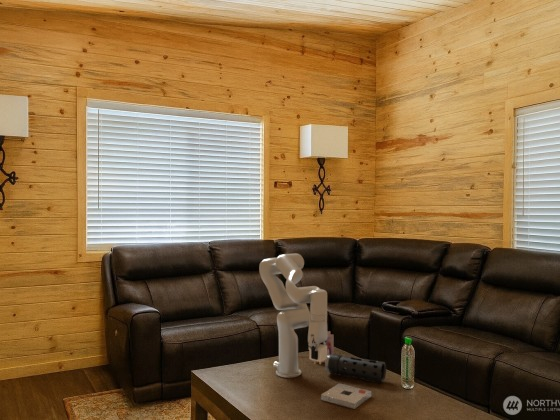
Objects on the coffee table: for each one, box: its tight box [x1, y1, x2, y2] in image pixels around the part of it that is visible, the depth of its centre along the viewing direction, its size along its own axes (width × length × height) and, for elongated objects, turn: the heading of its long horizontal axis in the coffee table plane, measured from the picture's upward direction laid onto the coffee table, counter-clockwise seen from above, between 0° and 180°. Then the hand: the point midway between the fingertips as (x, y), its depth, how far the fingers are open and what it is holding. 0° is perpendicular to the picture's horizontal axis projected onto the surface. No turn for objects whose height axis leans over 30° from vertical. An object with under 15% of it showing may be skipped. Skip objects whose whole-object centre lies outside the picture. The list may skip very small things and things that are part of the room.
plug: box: [307, 344, 327, 365], centre depth 226 cm, size 8×6×8 cm
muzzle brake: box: [324, 353, 387, 384], centre depth 241 cm, size 10×28×10 cm, turn 62°
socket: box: [320, 383, 372, 410], centre depth 217 cm, size 16×16×3 cm
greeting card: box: [311, 330, 335, 363], centre depth 267 cm, size 11×7×15 cm, turn 81°
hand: (318, 356), depth 225 cm, fingers closed on plug, 5 cm apart
